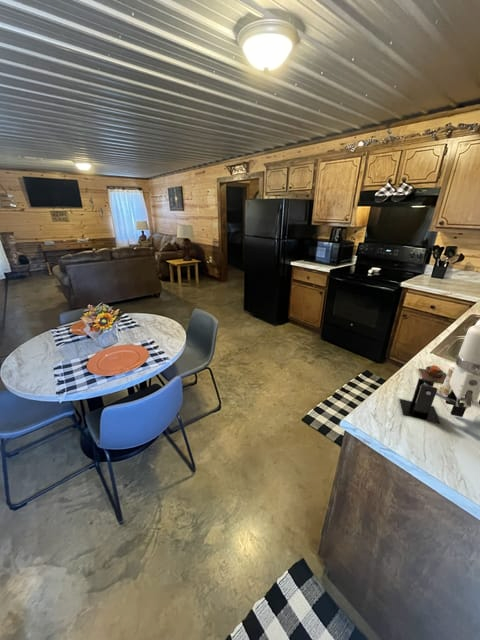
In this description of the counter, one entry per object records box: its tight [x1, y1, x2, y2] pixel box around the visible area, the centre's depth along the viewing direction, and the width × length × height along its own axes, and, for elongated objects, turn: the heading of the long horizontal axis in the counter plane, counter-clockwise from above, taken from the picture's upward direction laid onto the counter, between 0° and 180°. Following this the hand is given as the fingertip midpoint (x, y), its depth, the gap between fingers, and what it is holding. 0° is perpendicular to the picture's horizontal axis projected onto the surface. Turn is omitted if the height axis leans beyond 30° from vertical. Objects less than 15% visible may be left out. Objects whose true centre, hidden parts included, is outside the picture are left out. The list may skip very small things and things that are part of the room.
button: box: [430, 364, 441, 373], centre depth 113 cm, size 3×3×2 cm
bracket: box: [399, 378, 441, 425], centre depth 92 cm, size 11×9×13 cm
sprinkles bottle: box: [440, 362, 456, 396], centre depth 101 cm, size 5×5×13 cm
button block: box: [418, 365, 447, 384], centre depth 113 cm, size 10×9×4 cm
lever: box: [419, 382, 457, 404], centre depth 89 cm, size 12×5×2 cm, turn 68°
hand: (453, 409), depth 89 cm, fingers closed on lever, 5 cm apart
